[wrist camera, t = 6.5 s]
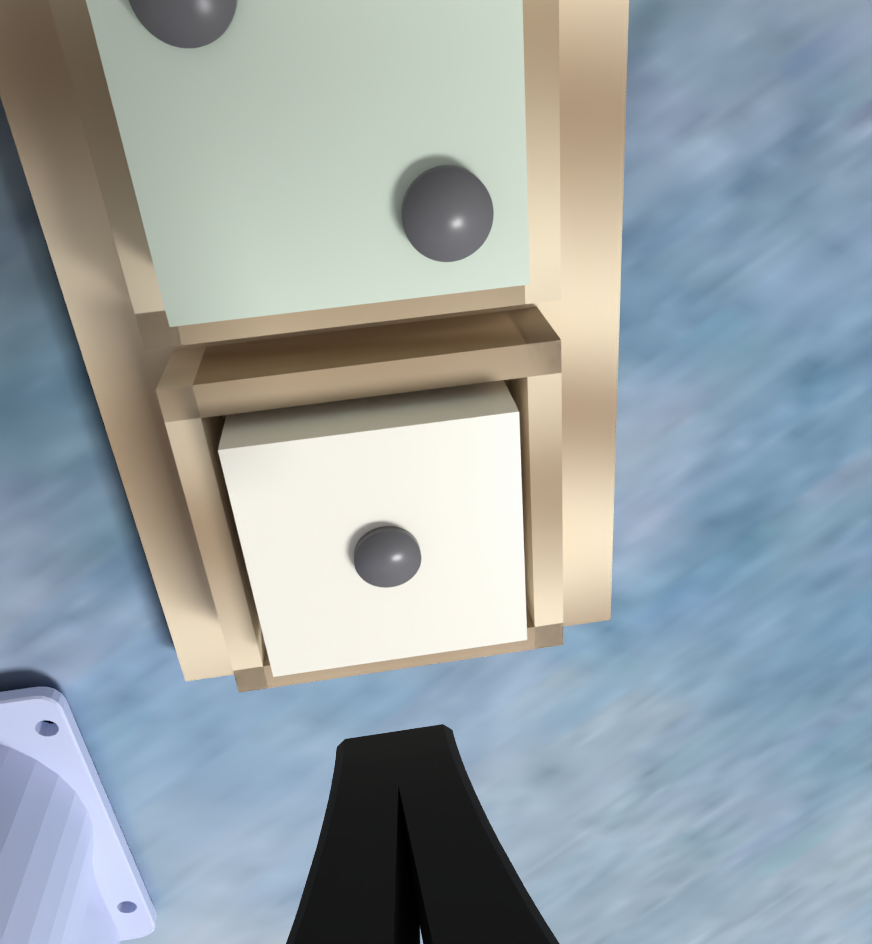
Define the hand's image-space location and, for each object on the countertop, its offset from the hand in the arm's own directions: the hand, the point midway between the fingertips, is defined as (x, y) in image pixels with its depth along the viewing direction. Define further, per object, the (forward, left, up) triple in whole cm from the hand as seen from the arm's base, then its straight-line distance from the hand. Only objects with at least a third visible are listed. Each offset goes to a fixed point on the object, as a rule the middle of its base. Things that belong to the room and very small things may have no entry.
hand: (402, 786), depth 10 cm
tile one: (0, 0, -7) cm, 7 cm away
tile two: (+8, 0, -6) cm, 10 cm away
